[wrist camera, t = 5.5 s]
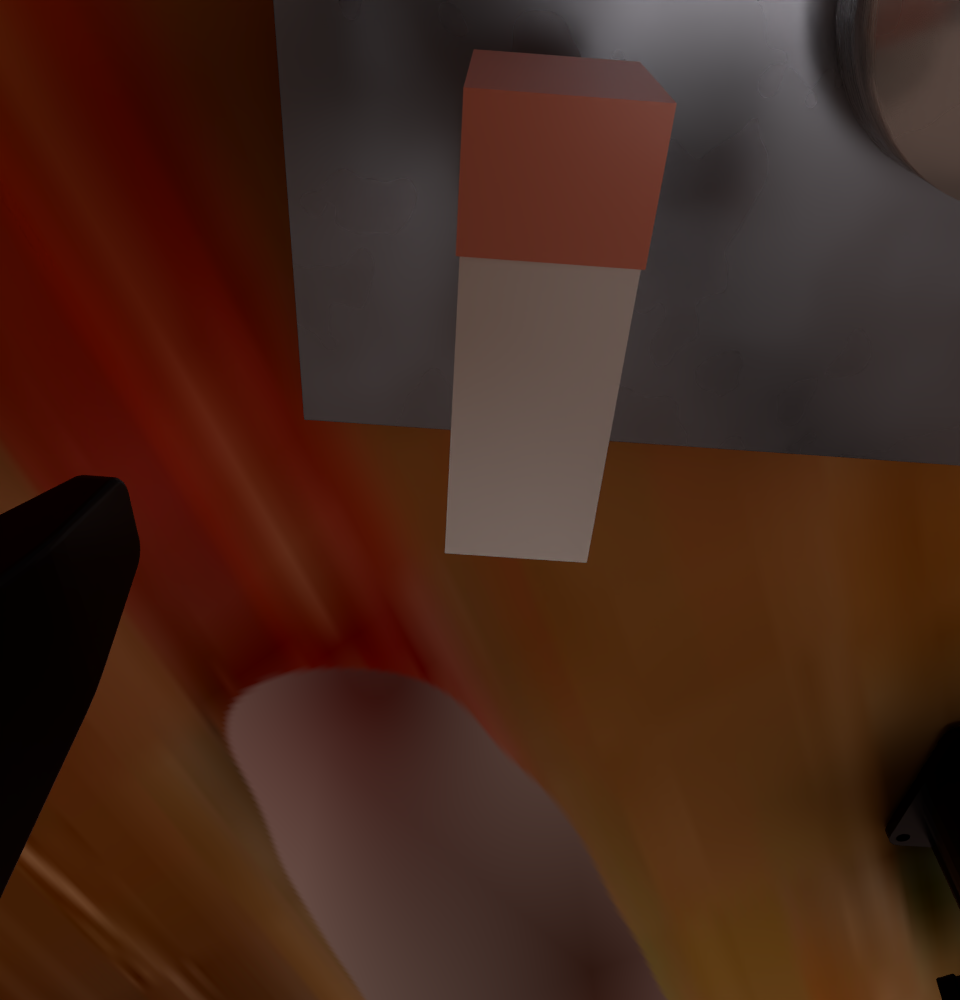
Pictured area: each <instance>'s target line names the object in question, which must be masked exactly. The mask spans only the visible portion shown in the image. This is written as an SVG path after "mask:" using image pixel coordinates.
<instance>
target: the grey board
mask: <svg viewBox="0 0 960 1000" xmlns="http://www.w3.org/2000/svg"><path fill="white" fill-rule="evenodd" d="M273 3H274V17H275V30H276V44H277V57H278V71H279V84H280V98H281V111H282V125H283V138H284V152H285V166H286V179H287V193H288V206H289V220H290V233H291V247H292V260H293V274H294V287H295V301H296V314H297V328H298V341H299V355H300V369H301V382H302V396H303V409H304V419H305V420H320V421H334V422H348V423H362V424H377V425H391V426H405V427H419V428H434V429H448V430H451V419H452V399H453V379H454V359H455V338H456V318H457V298H458V278H459V258H460V256H456V237H457V216H458V194H459V173H460V151H461V130H462V108H463V87H464V83H465V80H466V76H467V72H468V68H469V65H470V61H471V57H472V53H473V50H474V49H478V50H492V51H505V52H518V53H531V54H544V55H557V56H570V57H583V58H596V59H609V60H622V61H636V62H640V63H641V64H642V65H643V66H644V67H645V68H646V69H647V70H648V72H649V73H650V74H651V75H652V76H653V77H654V78H655V79H656V81H657V82H658V83H659V84H660V85H661V86H662V87H663V88H664V90H665V91H666V92H667V93H668V94H669V95H670V96H671V98H672V99H673V100H674V101H675V102H676V103H677V105H676V110H675V115H674V121H673V126H672V131H671V137H670V142H669V147H668V153H667V158H666V163H665V168H664V174H663V179H662V184H661V190H660V195H659V200H658V206H657V211H656V216H655V222H654V227H653V232H652V237H651V243H650V248H649V253H648V259H647V264H646V269H645V270H641V272H640V277H639V282H638V288H637V293H636V299H635V304H634V309H633V315H632V320H631V326H630V331H629V336H628V342H627V347H626V353H625V358H624V363H623V369H622V374H621V380H620V385H619V391H618V396H617V401H616V407H615V412H614V418H613V423H612V428H611V434H610V439H609V441H619V442H634V443H648V444H662V445H676V446H691V447H705V448H719V449H734V450H748V451H762V452H776V453H791V454H805V455H819V456H834V457H848V458H862V459H876V460H891V461H905V462H919V463H933V464H948V465H960V0H273Z"/></svg>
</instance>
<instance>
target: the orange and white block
mask: <svg viewBox="0 0 960 1000" xmlns="http://www.w3.org/2000/svg"><path fill="white" fill-rule="evenodd" d="M676 105H677V103H676V102H675V101H674V100H673V99H672V98H671V96H670V95H669V94H668V93H667V92H666V91H665V90H664V88H663V87H662V86H661V85H660V84H659V83H658V82H657V81H656V79H655V78H654V77H653V76H652V75H651V74H650V73H649V72H648V70H647V69H646V68H645V67H644V66H643V65H642V64H641V63H640V62H636V61H622V60H609V59H596V58H583V57H570V56H557V55H544V54H531V53H518V52H505V51H492V50H478V49H474V50H473V53H472V57H471V61H470V65H469V68H468V72H467V76H466V80H465V83H464V87H463V108H462V130H461V151H460V173H459V194H458V216H457V237H456V256H460V258H459V278H458V298H457V318H456V338H455V359H454V379H453V399H452V419H451V439H450V460H449V480H448V500H447V520H446V541H445V553H451V554H465V555H480V556H495V557H509V558H524V559H539V560H554V561H568V562H583V563H587V558H588V553H589V547H590V542H591V536H592V531H593V526H594V520H595V515H596V509H597V504H598V499H599V493H600V488H601V482H602V477H603V472H604V466H605V461H606V455H607V450H608V445H609V439H610V434H611V428H612V423H613V418H614V412H615V407H616V401H617V396H618V391H619V385H620V380H621V374H622V369H623V363H624V358H625V353H626V347H627V342H628V336H629V331H630V326H631V320H632V315H633V309H634V304H635V299H636V293H637V288H638V282H639V277H640V272H641V270H645V269H646V264H647V259H648V253H649V248H650V243H651V237H652V232H653V227H654V222H655V216H656V211H657V206H658V200H659V195H660V190H661V184H662V179H663V174H664V168H665V163H666V158H667V153H668V147H669V142H670V137H671V131H672V126H673V121H674V115H675V110H676Z"/></svg>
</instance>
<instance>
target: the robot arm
mask: <svg viewBox="0 0 960 1000" xmlns="http://www.w3.org/2000/svg"><path fill="white" fill-rule="evenodd" d="M139 558H140V541H139V536H138V532H137V528H136V523H135V519H134V515H133V510H132V506H131V502H130V497H129V493H128V490H127V487H126V486H125V484H124V482H123V481H121V480H120V479H118V478H116V477H104V476H90V475H81V476H76V477H74V478H72V479H70V480H68V481H66V482H64V483H62V484H60V485H58V486H56V487H54V488H52V489H50V490H48V491H46V492H44V493H42V494H40V495H38V496H36V497H34V498H32V499H31V500H29V501H27V502H25V503H23V504H21V505H19V506H17V507H15V508H13V509H11V510H9V511H7V512H5V513H3V514H1V515H0V898H1V895H2V893H3V891H4V889H5V887H6V885H7V883H8V880H9V878H10V876H11V874H12V872H13V870H14V868H15V865H16V863H17V861H18V859H19V857H20V855H21V853H22V850H23V848H24V846H25V844H26V842H27V840H28V838H29V835H30V833H31V831H32V829H33V827H34V825H35V823H36V820H37V818H38V816H39V814H40V812H41V810H42V808H43V805H44V803H45V801H46V799H47V797H48V795H49V793H50V790H51V788H52V786H53V784H54V782H55V780H56V778H57V775H58V773H59V771H60V769H61V767H62V765H63V763H64V760H65V758H66V756H67V754H68V752H69V750H70V748H71V745H72V743H73V741H74V739H75V737H76V735H77V733H78V730H79V728H80V726H81V724H82V722H83V720H84V718H85V715H86V713H87V711H88V709H89V706H90V704H91V702H92V699H93V697H94V695H95V692H96V690H97V687H98V684H99V681H100V679H101V676H102V673H103V670H104V667H105V664H106V661H107V658H108V655H109V652H110V649H111V646H112V643H113V640H114V637H115V634H116V631H117V628H118V625H119V622H120V619H121V615H122V612H123V609H124V606H125V603H126V600H127V597H128V594H129V591H130V588H131V585H132V582H133V579H134V576H135V573H136V570H137V567H138V563H139ZM885 831H886V834H887V836H888V838H889V841H890V843H892V844H895V845H903V846H919V847H932V849H933V852H934V854H935V856H936V858H937V860H938V863H939V865H940V867H941V869H942V871H943V874H944V876H945V878H946V880H947V882H948V885H949V887H950V889H951V891H952V894H953V896H954V898H955V900H956V902H957V905H958V907H959V909H960V726H959V727H955V728H952V729H950V730H949V731H947V732H946V733H945V734H944V735H943V737H942V739H941V740H940V742H939V743H938V745H937V747H936V748H935V750H934V751H933V753H932V755H931V756H930V758H929V759H928V761H927V763H926V764H925V766H924V767H923V769H922V770H921V772H920V774H919V775H918V777H917V778H916V780H915V782H914V783H913V785H912V786H911V788H910V790H909V791H908V793H907V794H906V796H905V798H904V799H903V801H902V802H901V804H900V806H899V807H898V809H897V810H896V812H895V813H894V815H893V817H892V818H891V820H890V821H889V823H888V825H887V826H886V829H885ZM936 980H937V984H938V987H939V991H940V994H941V997H942V1000H960V975H959V976H955V975H954V974H950V975H946V976H943V977H939V978H937V979H936Z"/></svg>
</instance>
